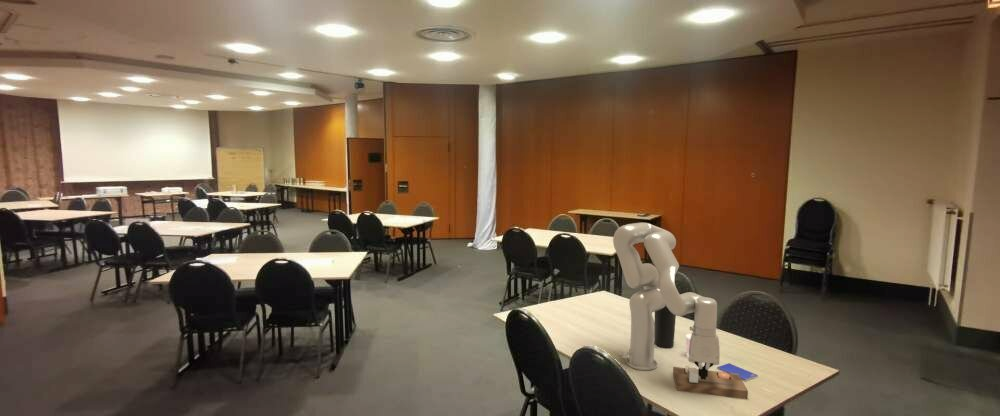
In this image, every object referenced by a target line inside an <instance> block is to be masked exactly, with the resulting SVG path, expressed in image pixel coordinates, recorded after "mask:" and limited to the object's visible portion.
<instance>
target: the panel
mask: <svg viewBox="0 0 1000 416" xmlns="http://www.w3.org/2000/svg"><path fill="white" fill-rule="evenodd" d="M672 369H673V370H672V374H673V375H672V376H673V379H674V384H675V388H676V391H678V392H684V393H685V392H688V393H695V394H703V395H712V396H717V397H718V396H720V397H728V398H736V399H744V400H748V399H749V390H748V389H747V387H746V385H745V383H744V381H742V379H741V377H740V376H739V374H736V373H728V374H729V375H730V377H729V379H723V378H718V373H719V372H720V371H715V370H708V377H706V380H704V379H703V380H701V378H700V376H699V375H698V383H693V382H689V379H688V376H687V374H685V367H679V366H673V367H672ZM696 369H697V372H699V368H696ZM725 373H726V372H725Z"/></svg>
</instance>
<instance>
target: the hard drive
mask: <svg viewBox="0 0 1000 416" xmlns="http://www.w3.org/2000/svg"><path fill="white" fill-rule="evenodd" d="M716 370H718V371H719V372H726V373H736V374H739V376H740V377H741V379H742V381H743V383H744V382H745V383H746V382H749V381H752V380H754V379H756V378H758V377H759V375H758V374H757V373H753V372H752V371H750V370H746V369H744V368H742V367H739V366H737V365H734V364H732V363H726V364H723V365H719V366H717V367H716Z"/></svg>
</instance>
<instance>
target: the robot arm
mask: <svg viewBox="0 0 1000 416" xmlns="http://www.w3.org/2000/svg"><path fill="white" fill-rule="evenodd" d="M612 242H613V247H614V250H615V253H616V255H617V257H618V260H619V262H620V263H619V264H620V266H621V269H622V270H621V271H622V273H623V275H624V279H625V283H626V284H627V286H628V287H629V288H631V289H640V288H643V290H639V291H637V292H635V293H633V294H632V295H631V297H630V298H629V310H630V343H629V344H630V349H629V351H626V352H625V351H619V353H618V356H619V357H621V358H622V360H623V359H625V362H626V364H627V366H629V367H630V368H633V369H636V370H639V371H653V370H655V369H656V368H657V367H658V362H657V360H655V359H654V355H655V354H654V353H655V344H654V334H655V318H654V316H653V313H655V311H657V310H660V309H662V308H664V307H665V306H667V308H668V309H669V311H670V312H671V313H672V314H674V315H676V317H682V316H685V315H688V314H691V313H694V319H693V320H694V321H693V323H694V324H693V325H694V326H689V331H692V332H691V334H692V335H691V339H690V346H689V357H688V359H687V361H688V362H689V363H691V364H694V365H696V367H698V369H699V372H698V375H699V376H700V378H701V380H703V379H704V380H706V377H708V371H710V369H711V368H712V367H713V366H718V365H719V366H720V361H721V360H720V359H721V357H720V355H721V353H720V352H721V351H720V339H719V336H718V335H717V317H718V303H717V300H715V299H714V298H712V297H706V296H703V295H700V294H698V293H695V292H691V291H689V292H684V293H681V294H680V293H679V291H678V289H677V287H676V283H675V280H676V279H675V277H676V274H677V272H678V270H679V268H680V264H679V262H678V260H677V258H676V256H675V255H674V253H673V251H672V250H673V249H675V247H676V245H677V239H676V237H675V236H674V234H673V233H672V232H670V231H669V230H666V229H664V228H661V227H659V226H656V225H653V223H652V224H651V223H649V222H633V223H627V224H625V225H624V224H623V225H621V226H620V227H618V228H617V229H616V230H615V232H614V234H613V238H612ZM639 243H643V245H644V248H645V251H647V254H648V255H649V257H650V259H651V262H652V263H653V264H652V263H649V262H647V263H646V262H645V263H643V262H642V260H641V256H640V254H639V251H637V249H636V248H635V246H633V245H635V244H639ZM703 363H704V365H703Z"/></svg>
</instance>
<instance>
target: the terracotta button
mask: <svg viewBox="0 0 1000 416" xmlns="http://www.w3.org/2000/svg"><path fill="white" fill-rule="evenodd" d="M718 372H719V373H718V378H723V379H729V377H730V375H729V374H728V373H725V372H722V371H718Z"/></svg>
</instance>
